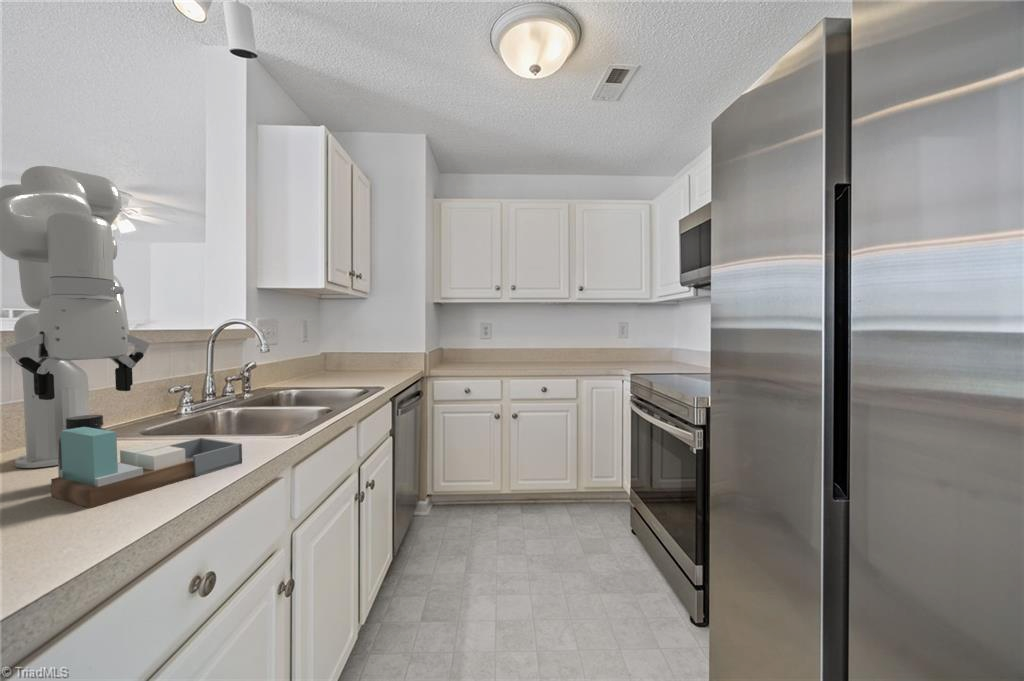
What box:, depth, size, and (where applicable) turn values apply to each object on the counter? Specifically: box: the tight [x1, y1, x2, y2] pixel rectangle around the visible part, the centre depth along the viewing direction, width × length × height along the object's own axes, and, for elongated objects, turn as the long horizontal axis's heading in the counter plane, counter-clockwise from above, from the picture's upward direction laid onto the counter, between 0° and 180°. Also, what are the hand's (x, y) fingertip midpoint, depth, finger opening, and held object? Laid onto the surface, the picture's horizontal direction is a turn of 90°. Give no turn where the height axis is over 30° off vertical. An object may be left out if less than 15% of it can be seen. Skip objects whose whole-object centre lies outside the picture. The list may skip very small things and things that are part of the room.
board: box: [50, 459, 195, 509], centre depth 75 cm, size 12×15×3 cm
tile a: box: [119, 442, 168, 466], centre depth 80 cm, size 5×5×2 cm
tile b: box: [137, 445, 185, 470], centre depth 78 cm, size 5×5×2 cm
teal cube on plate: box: [58, 427, 143, 487], centre depth 72 cm, size 12×6×8 cm, turn 67°
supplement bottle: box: [57, 414, 107, 474], centre depth 78 cm, size 7×7×12 cm
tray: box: [168, 437, 243, 478], centre depth 86 cm, size 13×9×4 cm
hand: (87, 394), depth 70 cm, fingers open, 9 cm apart
